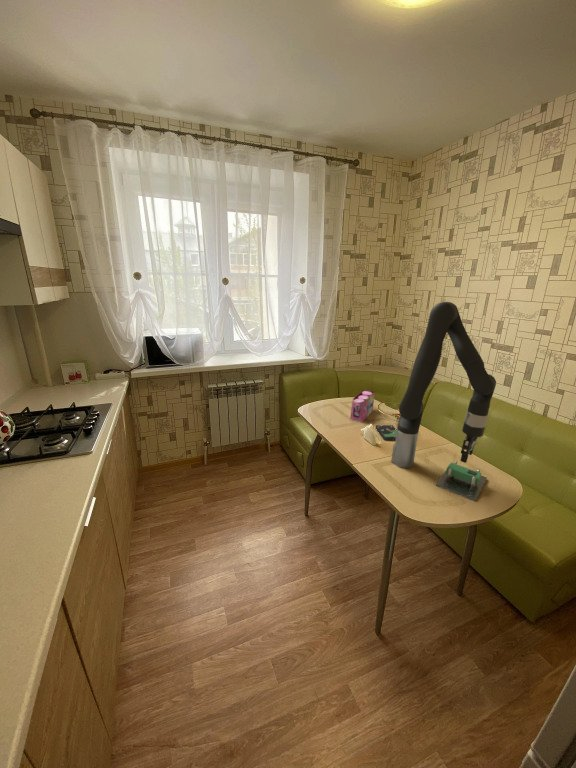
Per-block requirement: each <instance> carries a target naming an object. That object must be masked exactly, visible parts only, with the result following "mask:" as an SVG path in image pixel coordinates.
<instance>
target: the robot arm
mask: <svg viewBox="0 0 576 768" xmlns="http://www.w3.org/2000/svg"><path fill="white" fill-rule="evenodd" d="M447 335H448V337H449V339H450V341H451V344H452V346H453V349H454V353H455V354H456V357H457V359H458V361H459V362H460V364H461V366H462V368H463V369H464V371H465V373H466V375H467V378H468V381H469V383H470V385H471V386H470V387H472V389H473V392H472V396H471V398H470V400H469V403H468V407H467V412H466V413H465V417H464V420H463V424H462V429H461V430H462V432H463V434H465V435H466V436H465V437H464V439H463V441H462V446H461V450H460V454H461V455H460V456H461V457H460V462H462V463H465V464H467V462H468V459H469V456H472V455H473V452H474V448H475V446H476V445H477V441H478V438H482V437H483V436H484V433H485V430H486V426H487V422H488V414H489V410H490V407H491V400H492V399H493V394H494V392H495V389H496V385H497V381H496V378H495V376H493V375H491V374H489V373H488V371H487V369H486V367H485V362H484V361H483V358H482V356H481V354H480V352H479V351H478V349H477V348H476V345H474V343H473V341H472V339H471V338H470V336H469V335H468V332H467V330H466V328H465V326H464V324H463V320H462V318H461V316H460V311H459V309H458V306H457V305H456V304H455V303H453V302H451V301H450V302H449V301H442V302H438V303H437V304H435V305H433V307H432V308H431V310H430V313H429V316H428V320H427V325H426V330H425V334H424V336H423V339H422V341H421V344H420V346H419V349H418V351H417V353H416V357H415V359H414V363H413V366H412V370H411V371H410V377H409V380H408V384H407V388H406V391H405V393H404V396H403V398H402V399H401V402H400V403H399V405H398V412H399V420H398V422H397V428H396V430H397V434H396V440H395V442H394V443H393V446H392V453H391V460H390V461H391V462H392V463H394V465H395V466H397V467H399V468H404V469H409V468H413V466H414V462H415V457H416V451H417V443H418V438H419V433H420V427H421V423H422V418H423V411H424V402H423V401H424V397H425V394H426V392H427V390H428V388H429V387H430V385H431V383H432V381H433V379H434V377H435V375H436V373H437V371H438V367H439V364H440V362H441V358H442V351H443V345H444V340H445V337H446V336H447Z"/></svg>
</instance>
